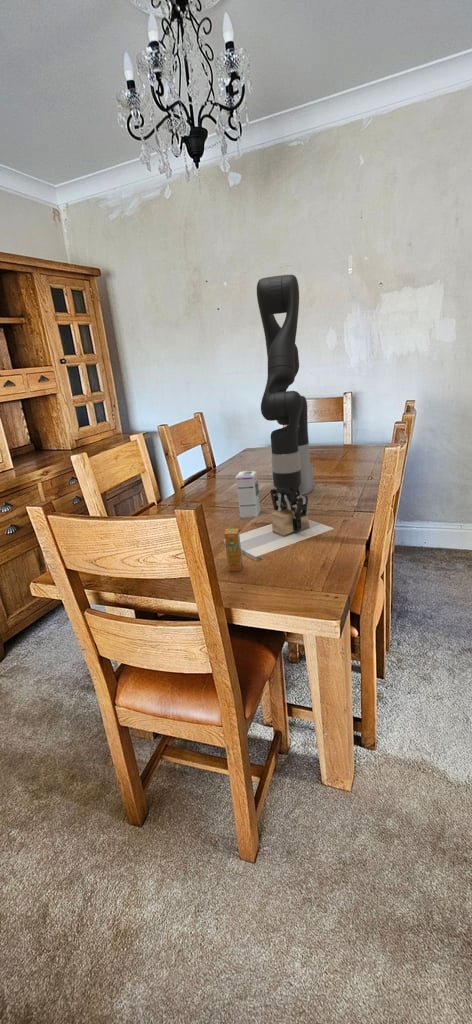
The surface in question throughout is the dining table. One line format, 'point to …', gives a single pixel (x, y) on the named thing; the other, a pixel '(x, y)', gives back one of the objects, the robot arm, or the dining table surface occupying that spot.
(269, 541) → the board
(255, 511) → the syrup box
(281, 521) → the block
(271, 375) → the robot arm
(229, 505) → the dining table surface
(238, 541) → the supplement box
